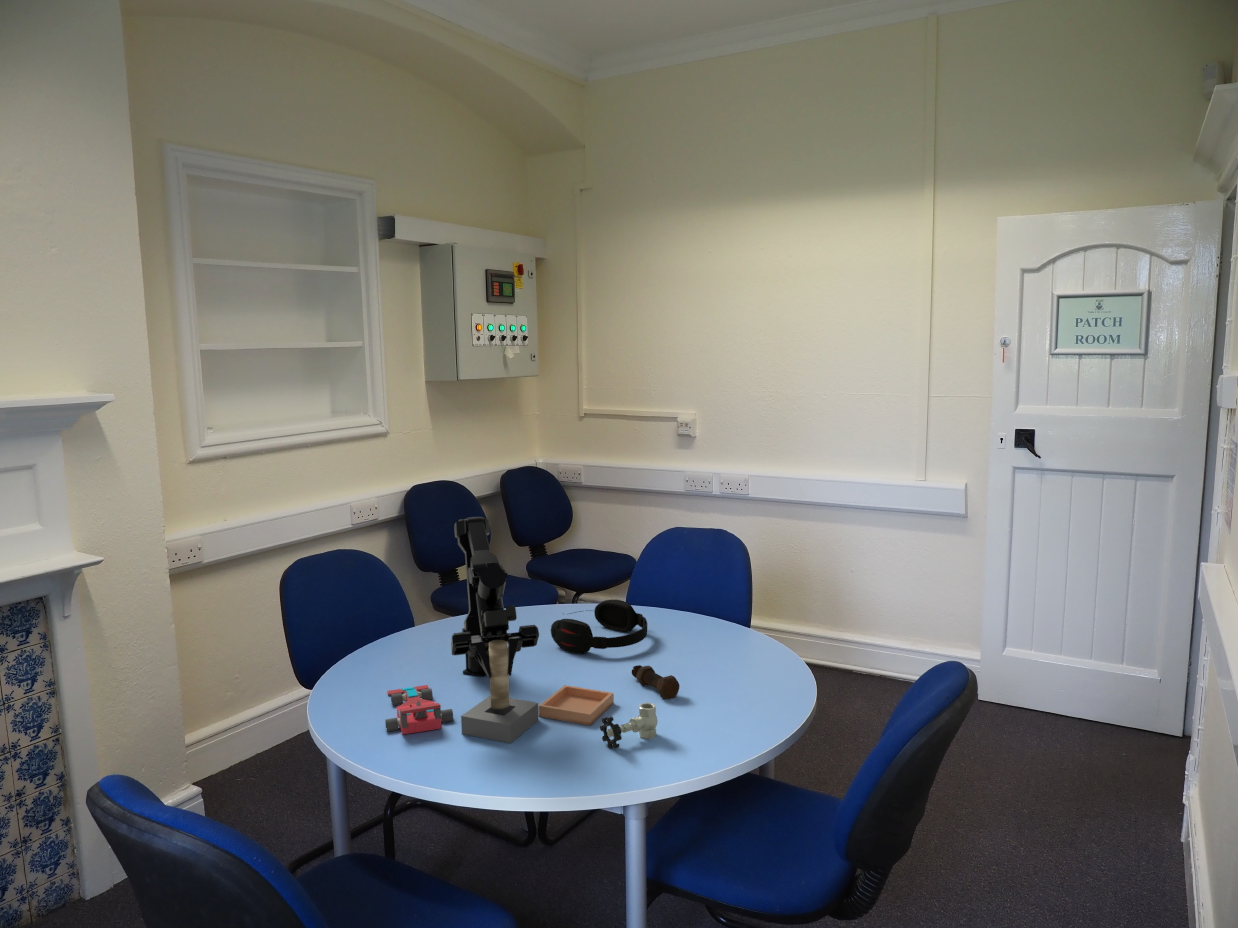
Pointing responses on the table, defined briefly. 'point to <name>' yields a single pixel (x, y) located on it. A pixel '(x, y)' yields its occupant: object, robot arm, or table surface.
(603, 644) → the headset
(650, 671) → the bolt
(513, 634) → the robot arm
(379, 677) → the table surface
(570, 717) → the tray
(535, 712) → the holder
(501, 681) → the dowel
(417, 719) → the race car
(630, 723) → the valve
